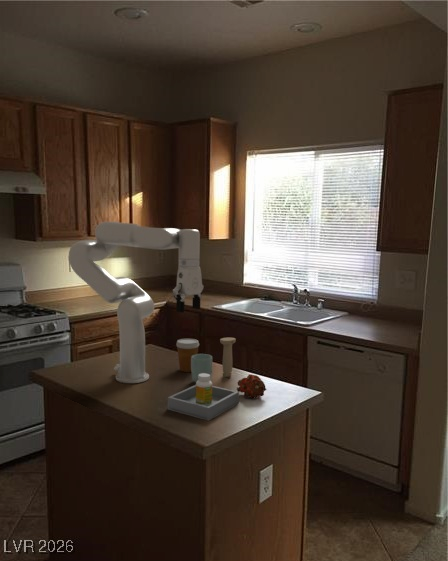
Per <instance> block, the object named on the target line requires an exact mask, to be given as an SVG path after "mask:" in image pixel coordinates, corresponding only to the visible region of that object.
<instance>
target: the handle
mask: <svg viewBox="0 0 448 561" xmlns="http://www.w3.org/2000/svg"><path fill="white" fill-rule="evenodd" d="M236 340H237V339H236V338H235V337H222V338H220V339H219V342H220V344H222V345H223V350H222V352H223V353H222V365H221V366H222V372H223V373H222V375H223V377H225V378H230V377H232V371H233V344H235V343H236Z"/></svg>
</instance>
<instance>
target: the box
mask: <svg viewBox="0 0 448 561" xmlns="http://www.w3.org/2000/svg"><path fill="white" fill-rule="evenodd" d="M239 397H240V392H238V391H237V390H232V389H228V388H224V387H220V386H215V385H212V404H211V405H209V406H205V405H201V404H197V403H196V384H195V385H192V386H189V387H188V388H186V389H183V390H181V391H179V392H176V393H175V394H172V395H170V396H168V397H167V410H168V411H171V412H177V413H179V414H184V415H187V416H190V417H194V418H198V419H201V420H205V421H211V420H213V419H215V417H218V416H219V415H221V414H222V413H224V412H227V411H228V410H230V409H232V408H233V407H235V406H236V405H238V404H239V403H240V402H239V400H240V398H239Z"/></svg>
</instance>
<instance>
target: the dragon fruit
mask: <svg viewBox="0 0 448 561" xmlns="http://www.w3.org/2000/svg"><path fill="white" fill-rule="evenodd" d="M237 386H238V387H236V391H238V392H239V393H242V394H243V393H244V394H243V397H244V398H245V399H247V398H251V399H255V400H256V399H258V398H260V397H264V395H265V391H267V387H266V385H265V383H264V381H263V380H262V378H260V377H259V376H258V374H256V375H254V374H251V373H250V374H248V375H247V377H242V379H239V380H238V381H237Z"/></svg>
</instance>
